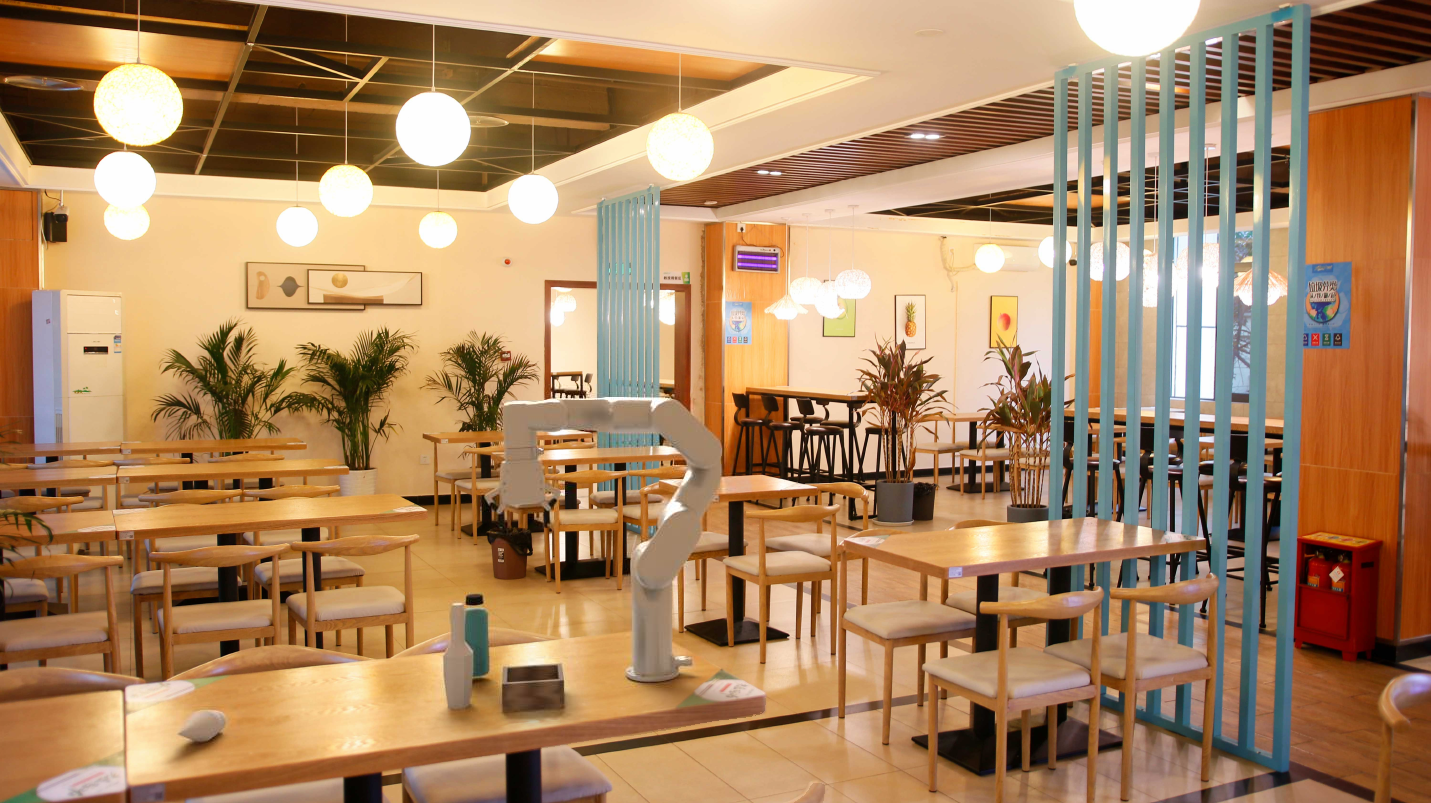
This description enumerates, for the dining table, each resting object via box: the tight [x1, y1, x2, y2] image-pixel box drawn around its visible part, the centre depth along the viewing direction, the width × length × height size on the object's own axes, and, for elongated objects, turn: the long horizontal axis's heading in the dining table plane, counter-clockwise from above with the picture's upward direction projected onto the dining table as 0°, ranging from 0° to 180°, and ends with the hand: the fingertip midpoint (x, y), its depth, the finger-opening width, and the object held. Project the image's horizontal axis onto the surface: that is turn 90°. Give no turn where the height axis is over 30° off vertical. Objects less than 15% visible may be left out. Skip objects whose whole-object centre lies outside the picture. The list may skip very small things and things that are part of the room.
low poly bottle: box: [442, 602, 474, 710], centre depth 220 cm, size 6×6×22 cm
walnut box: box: [501, 662, 565, 713], centre depth 223 cm, size 13×13×6 cm
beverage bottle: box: [465, 593, 491, 678], centre depth 238 cm, size 6×7×20 cm
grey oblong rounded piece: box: [177, 709, 227, 743], centre depth 198 cm, size 6×6×15 cm
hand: (524, 528), depth 235 cm, fingers open, 9 cm apart
